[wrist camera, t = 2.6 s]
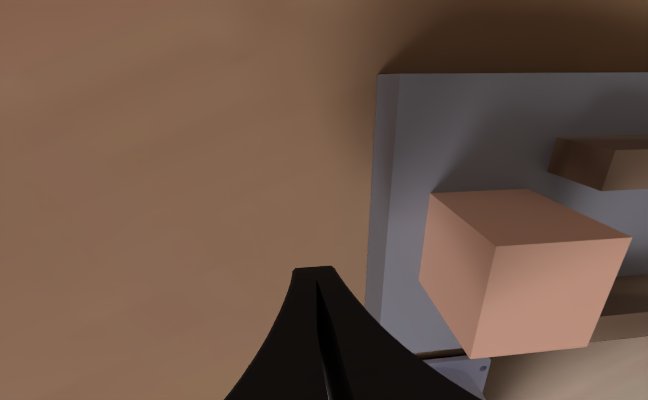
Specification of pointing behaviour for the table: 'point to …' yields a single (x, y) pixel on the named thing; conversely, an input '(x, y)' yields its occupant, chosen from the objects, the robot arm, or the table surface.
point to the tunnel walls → (610, 175)
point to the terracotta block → (517, 270)
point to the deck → (485, 169)
